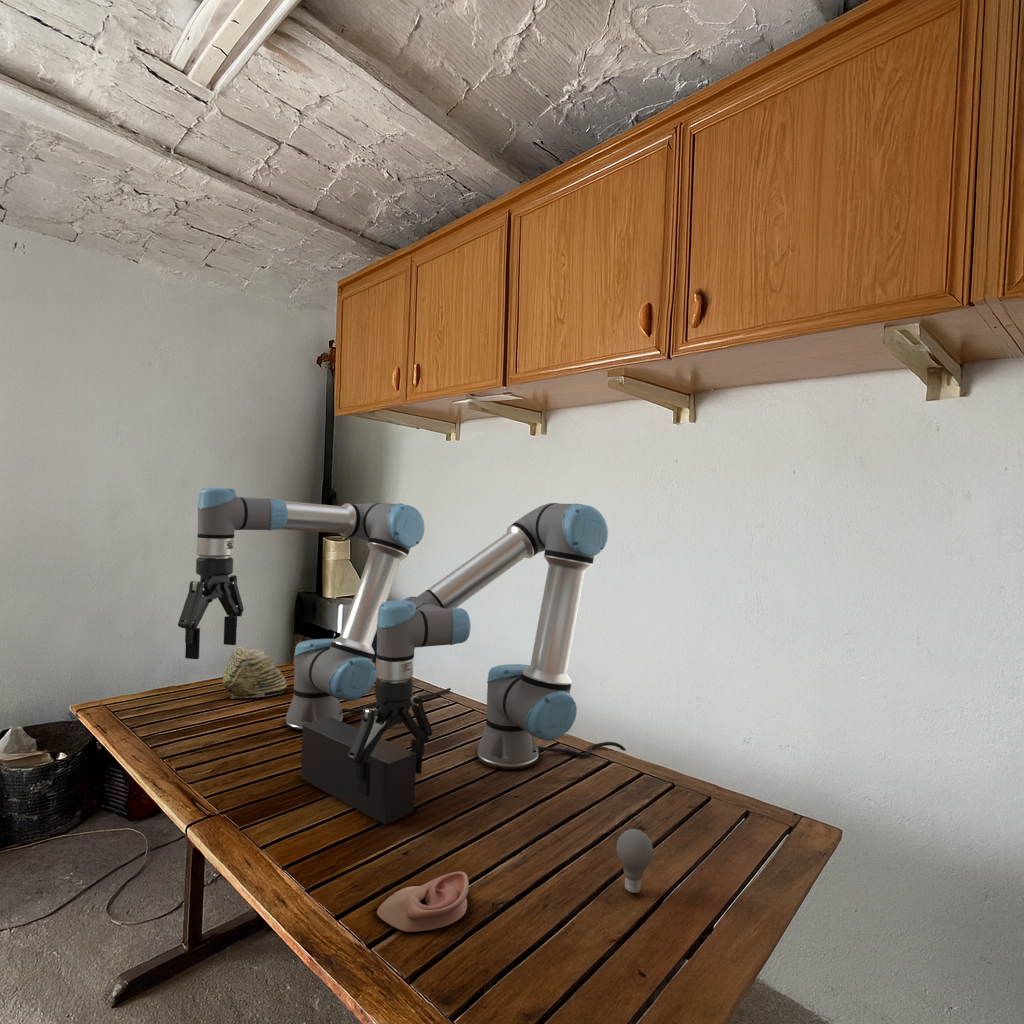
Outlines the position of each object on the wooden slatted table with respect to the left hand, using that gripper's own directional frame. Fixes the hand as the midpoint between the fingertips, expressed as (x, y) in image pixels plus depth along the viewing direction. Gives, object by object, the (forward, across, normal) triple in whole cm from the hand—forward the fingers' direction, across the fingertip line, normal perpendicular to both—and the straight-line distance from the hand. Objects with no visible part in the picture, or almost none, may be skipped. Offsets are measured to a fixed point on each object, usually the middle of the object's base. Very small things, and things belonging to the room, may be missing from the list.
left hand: (211, 651), depth 142 cm
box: (+28, -2, -36) cm, 45 cm away
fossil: (+28, +53, +20) cm, 63 cm away
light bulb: (+28, -23, -93) cm, 100 cm away
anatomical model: (+28, -35, -61) cm, 75 cm away
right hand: (+22, -7, -45) cm, 51 cm away
